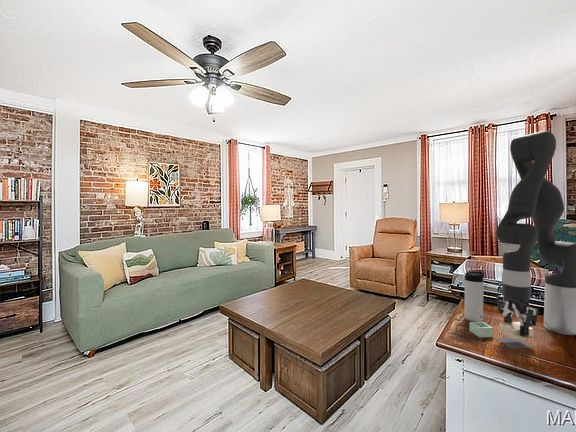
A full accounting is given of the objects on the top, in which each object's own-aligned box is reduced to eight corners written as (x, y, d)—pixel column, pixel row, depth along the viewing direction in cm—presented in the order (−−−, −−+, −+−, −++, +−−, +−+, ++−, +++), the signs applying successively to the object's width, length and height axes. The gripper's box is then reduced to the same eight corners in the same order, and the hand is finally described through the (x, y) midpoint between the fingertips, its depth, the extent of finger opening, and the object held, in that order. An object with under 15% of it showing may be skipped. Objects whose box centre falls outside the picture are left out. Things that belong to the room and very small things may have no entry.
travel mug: (486, 324, 108) (487, 274, 107) (468, 323, 109) (469, 273, 109) (479, 317, 114) (480, 270, 113) (461, 316, 116) (462, 269, 115)
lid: (518, 330, 96) (518, 321, 95) (533, 337, 90) (533, 329, 90) (499, 331, 95) (499, 322, 95) (513, 339, 90) (513, 330, 90)
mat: (516, 339, 96) (517, 337, 96) (534, 348, 90) (534, 347, 90) (494, 339, 96) (494, 338, 96) (510, 349, 89) (510, 347, 89)
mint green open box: (482, 332, 102) (482, 321, 102) (493, 338, 97) (493, 327, 97) (469, 332, 102) (469, 322, 101) (479, 339, 97) (479, 328, 96)
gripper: (548, 288, 85) (547, 342, 86) (508, 276, 99) (508, 322, 100) (524, 290, 84) (524, 343, 85) (488, 277, 99) (488, 323, 100)
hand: (515, 331), depth 93 cm, fingers closed on lid, 5 cm apart
